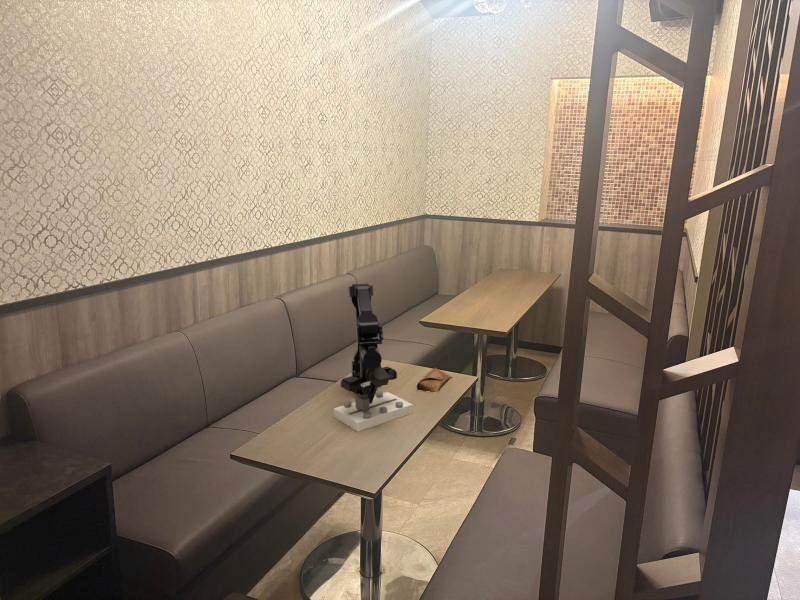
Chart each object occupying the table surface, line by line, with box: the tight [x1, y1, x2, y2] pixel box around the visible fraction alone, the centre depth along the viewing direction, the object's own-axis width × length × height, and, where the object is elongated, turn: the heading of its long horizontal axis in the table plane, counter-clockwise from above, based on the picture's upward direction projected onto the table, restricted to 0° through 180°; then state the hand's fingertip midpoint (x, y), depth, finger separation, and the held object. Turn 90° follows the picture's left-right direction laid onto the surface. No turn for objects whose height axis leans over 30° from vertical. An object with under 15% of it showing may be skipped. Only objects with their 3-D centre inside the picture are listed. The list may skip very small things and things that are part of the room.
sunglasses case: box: [416, 366, 453, 393], centre depth 220 cm, size 18×7×7 cm
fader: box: [355, 394, 370, 412], centre depth 190 cm, size 4×2×4 cm, turn 38°
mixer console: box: [333, 391, 414, 433], centre depth 193 cm, size 14×22×4 cm, turn 128°
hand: (370, 403), depth 192 cm, fingers closed
